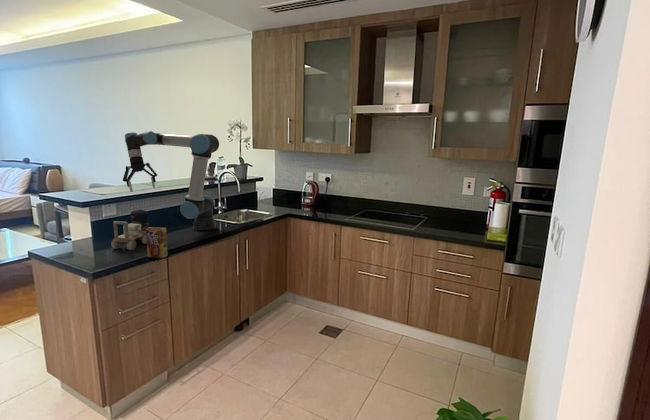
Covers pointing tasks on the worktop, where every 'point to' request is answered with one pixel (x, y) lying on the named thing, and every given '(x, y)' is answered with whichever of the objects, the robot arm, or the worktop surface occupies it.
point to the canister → (140, 219)
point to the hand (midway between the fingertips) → (142, 189)
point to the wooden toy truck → (128, 235)
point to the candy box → (156, 242)
